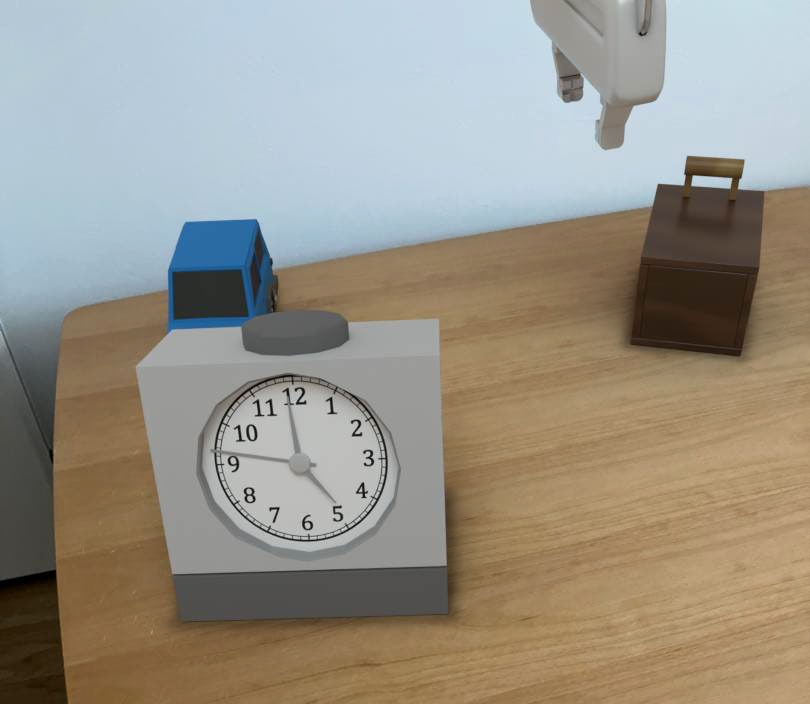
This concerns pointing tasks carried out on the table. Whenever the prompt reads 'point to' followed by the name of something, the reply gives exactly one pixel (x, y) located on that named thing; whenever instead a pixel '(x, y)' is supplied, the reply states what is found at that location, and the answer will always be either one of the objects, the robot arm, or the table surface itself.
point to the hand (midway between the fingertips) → (588, 121)
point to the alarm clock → (300, 466)
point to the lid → (706, 221)
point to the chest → (692, 309)
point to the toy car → (220, 275)
